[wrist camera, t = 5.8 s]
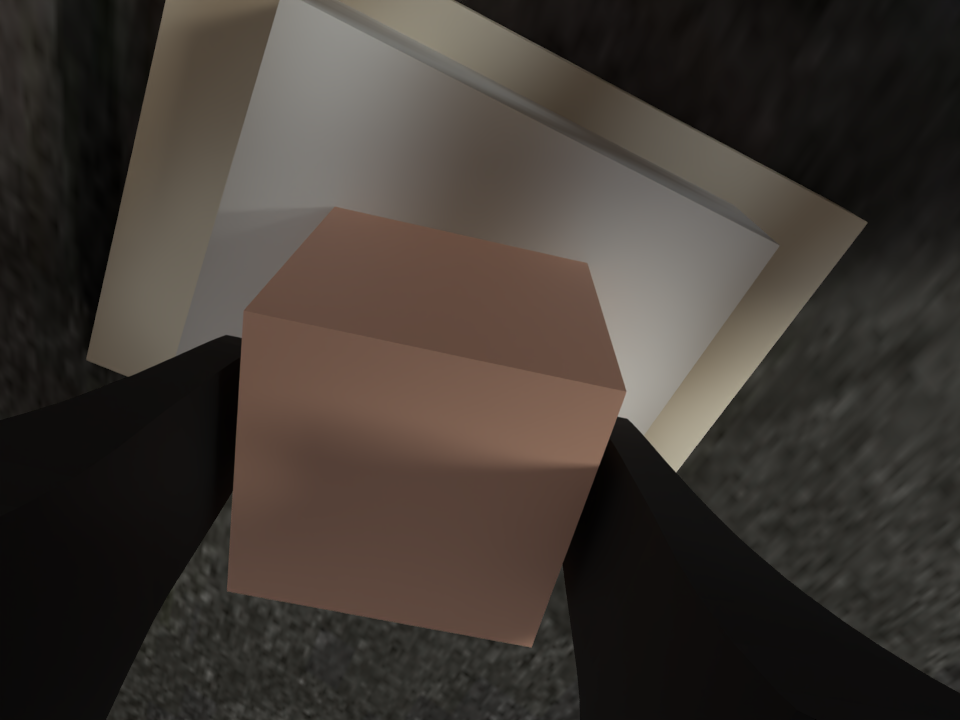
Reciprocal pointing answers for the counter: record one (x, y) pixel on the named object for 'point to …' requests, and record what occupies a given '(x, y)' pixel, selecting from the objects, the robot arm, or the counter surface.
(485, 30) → the base
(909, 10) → the counter surface
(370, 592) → the cube
